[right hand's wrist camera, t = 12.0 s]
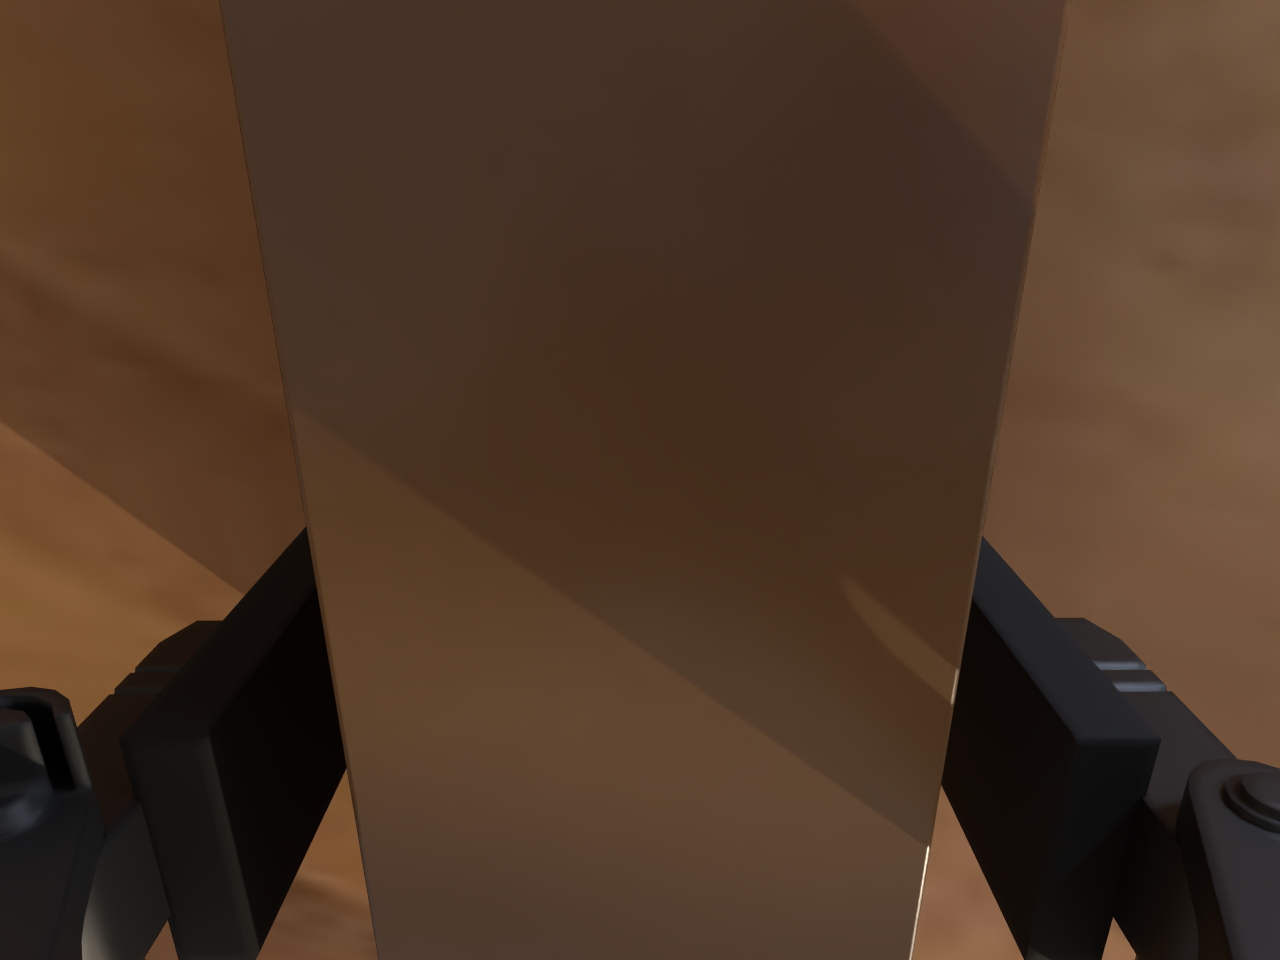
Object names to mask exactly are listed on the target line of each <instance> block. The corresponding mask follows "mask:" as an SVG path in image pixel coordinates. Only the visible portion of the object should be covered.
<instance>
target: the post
mask: <svg viewBox="0 0 1280 960" xmlns="http://www.w3.org/2000/svg"><path fill="white" fill-rule="evenodd" d="M219 3H220V9H221V15H222V21H223V27H224V33H225V39H226V46H227V51H228V58H229V64H230V70H231V76H232V82H233V88H234V94H235V100H236V106H237V112H238V118H239V124H240V130H241V136H242V142H243V148H244V154H245V160H246V166H247V172H248V178H249V184H250V190H251V196H252V202H253V208H254V214H255V220H256V226H257V232H258V238H259V244H260V250H261V256H262V262H263V268H264V274H265V280H266V286H267V292H268V298H269V304H270V310H271V316H272V322H273V328H274V334H275V340H276V346H277V352H278V358H279V364H280V370H281V376H282V382H283V388H284V394H285V400H286V406H287V412H288V418H289V424H290V430H291V436H292V442H293V448H294V454H295V460H296V466H297V472H298V478H299V484H300V490H301V496H302V502H303V508H304V514H305V520H306V526H307V532H308V538H309V544H310V550H311V556H312V562H313V568H314V574H315V580H316V586H317V592H318V598H319V604H320V610H321V616H322V622H323V628H324V634H325V640H326V646H327V652H328V658H329V664H330V670H331V676H332V682H333V688H334V694H335V700H336V706H337V712H338V718H339V724H340V730H341V736H342V742H343V748H344V754H345V760H346V766H347V772H348V778H349V784H350V790H351V796H352V802H353V808H354V814H355V820H356V826H357V832H358V838H359V844H360V850H361V856H362V862H363V868H364V874H365V880H366V886H367V892H368V898H369V904H370V910H371V916H372V922H373V928H374V935H375V941H376V947H377V953H378V959H379V960H912V956H913V950H914V944H915V938H916V932H917V926H918V920H919V914H920V908H921V902H922V896H923V890H924V884H925V878H926V872H927V866H928V860H929V854H930V848H931V842H932V836H933V829H934V823H935V817H936V811H937V805H938V799H939V793H940V787H941V781H942V775H943V769H944V763H945V757H946V751H947V745H948V739H949V733H950V727H951V721H952V715H953V709H954V703H955V697H956V691H957V685H958V679H959V673H960V667H961V661H962V655H963V649H964V642H965V636H966V630H967V624H968V618H969V612H970V606H971V600H972V594H973V588H974V582H975V576H976V570H977V564H978V558H979V552H980V546H981V540H982V534H983V528H984V522H985V516H986V510H987V504H988V498H989V492H990V486H991V480H992V474H993V468H994V461H995V455H996V449H997V443H998V437H999V431H1000V425H1001V419H1002V413H1003V407H1004V401H1005V395H1006V389H1007V383H1008V377H1009V371H1010V365H1011V359H1012V353H1013V347H1014V341H1015V335H1016V329H1017V323H1018V317H1019V311H1020V305H1021V299H1022V293H1023V287H1024V281H1025V274H1026V268H1027V262H1028V256H1029V250H1030V244H1031V238H1032V232H1033V226H1034V220H1035V214H1036V208H1037V202H1038V196H1039V190H1040V184H1041V178H1042V172H1043V166H1044V160H1045V154H1046V148H1047V142H1048V136H1049V130H1050V124H1051V118H1052V112H1053V106H1054V100H1055V94H1056V87H1057V81H1058V75H1059V69H1060V63H1061V57H1062V51H1063V45H1064V39H1065V33H1066V27H1067V21H1068V15H1069V9H1070V3H1071V0H219Z"/></svg>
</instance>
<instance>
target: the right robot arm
mask: <svg viewBox="0 0 1280 960" xmlns="http://www.w3.org/2000/svg"><path fill="white" fill-rule="evenodd" d="M346 768H347V766H346V760H345V754H344V748H343V742H342V736H341V730H340V724H339V718H338V712H337V706H336V700H335V694H334V688H333V682H332V676H331V670H330V664H329V658H328V652H327V646H326V640H325V634H324V628H323V622H322V616H321V610H320V604H319V598H318V592H317V586H316V580H315V574H314V568H313V562H312V556H311V550H310V544H309V538H308V532H307V526H306V527H305V528H304V529H303V530H302V532H301V533H300V534H299V535H298V536H297V537H296V538H295V539H294V541H293V542H292V543H291V544H290V545H289V546H288V547H287V549H286V550H285V551H284V552H283V553H282V554H281V555H280V556H279V558H278V559H277V560H276V561H275V562H274V563H273V564H272V566H271V567H270V568H269V569H268V570H267V571H266V572H265V573H264V575H263V576H262V577H261V578H260V579H259V580H258V581H257V583H256V584H255V585H254V586H253V587H252V588H251V589H250V590H249V592H248V593H247V594H246V595H245V596H244V597H243V598H242V600H241V601H240V602H239V603H238V604H237V605H236V606H235V607H234V609H233V610H232V611H231V612H230V613H229V614H228V615H227V617H226V618H225V619H224V620H223V621H196V622H194V623H192V624H191V625H189V626H187V627H185V628H184V629H182V630H180V631H179V632H177V633H175V634H173V635H172V636H170V637H168V638H167V639H165V640H163V641H162V642H160V643H159V644H158V645H157V646H156V647H155V648H154V649H153V650H152V651H151V652H150V653H149V654H148V655H147V656H146V657H145V658H144V659H143V660H142V661H141V662H140V663H139V665H138V666H137V667H136V668H135V673H130V674H129V675H128V676H127V677H126V678H125V679H124V680H123V681H122V682H121V683H120V684H119V685H118V686H117V687H116V688H115V693H114V695H108V696H107V697H106V699H105V700H104V701H103V702H102V703H101V704H100V705H99V706H98V707H97V708H96V709H95V710H94V711H93V712H92V713H91V714H90V715H89V716H88V717H87V718H86V719H85V720H84V721H83V722H82V723H81V724H80V725H79V726H78V727H77V726H76V722H75V719H74V715H73V712H72V709H71V705H70V702H69V699H68V698H66V697H65V696H63V695H62V694H60V693H59V692H57V691H56V690H51V689H44V688H36V687H25V688H16V689H6V690H0V960H145V956H146V954H147V953H148V951H149V950H150V948H151V946H152V945H153V943H154V941H155V940H156V938H157V936H158V935H159V933H160V932H161V930H162V928H163V927H164V925H165V923H166V922H167V920H168V922H169V926H170V930H171V933H172V937H173V941H174V944H175V948H176V952H177V955H178V959H179V960H256V958H257V956H258V954H259V952H260V950H261V948H262V946H263V943H264V941H265V939H266V937H267V935H268V933H269V931H270V929H271V927H272V924H273V922H274V920H275V918H276V916H277V914H278V912H279V910H280V908H281V905H282V903H283V901H284V899H285V897H286V895H287V893H288V891H289V889H290V886H291V884H292V882H293V880H294V878H295V876H296V874H297V872H298V869H299V867H300V865H301V863H302V861H303V859H304V857H305V855H306V853H307V850H308V848H309V846H310V844H311V842H312V840H313V838H314V836H315V834H316V831H317V829H318V827H319V825H320V823H321V821H322V819H323V817H324V815H325V812H326V810H327V808H328V806H329V804H330V802H331V800H332V798H333V796H334V793H335V791H336V789H337V787H338V785H339V783H340V781H341V779H342V777H343V774H344V772H345V770H346ZM941 785H942V787H943V789H944V791H945V793H946V796H947V798H948V800H949V802H950V804H951V806H952V808H953V810H954V812H955V815H956V817H957V819H958V821H959V823H960V825H961V827H962V829H963V831H964V834H965V836H966V838H967V840H968V842H969V844H970V846H971V848H972V850H973V853H974V855H975V857H976V859H977V861H978V863H979V865H980V867H981V869H982V872H983V874H984V876H985V878H986V880H987V882H988V884H989V886H990V888H991V891H992V893H993V895H994V897H995V899H996V901H997V903H998V905H999V907H1000V910H1001V912H1002V914H1003V916H1004V918H1005V920H1006V922H1007V924H1008V927H1009V929H1010V931H1011V933H1012V935H1013V937H1014V939H1015V941H1016V943H1017V946H1018V948H1019V950H1020V952H1021V954H1022V956H1023V958H1024V960H1101V959H1102V955H1103V952H1104V948H1105V944H1106V941H1107V937H1108V933H1109V930H1110V926H1111V922H1112V919H1113V917H1114V919H1115V920H1116V922H1117V924H1118V925H1119V927H1120V929H1121V930H1122V932H1123V933H1124V935H1125V937H1126V938H1127V940H1128V942H1129V943H1130V945H1131V946H1132V948H1133V950H1134V951H1135V953H1136V958H1135V960H1280V769H1278V768H1275V767H1272V766H1269V765H1266V764H1262V763H1259V762H1255V761H1247V760H1239V759H1237V758H1236V757H1235V756H1234V755H1233V754H1232V753H1231V752H1230V751H1229V750H1228V749H1227V748H1226V747H1225V746H1224V745H1223V744H1222V743H1221V742H1220V740H1219V739H1218V738H1217V737H1216V736H1215V735H1214V734H1213V733H1212V732H1211V731H1210V730H1209V729H1208V728H1207V727H1206V726H1205V725H1204V724H1203V723H1202V722H1201V721H1200V720H1199V719H1198V718H1197V717H1196V716H1195V715H1194V714H1193V713H1192V712H1191V711H1190V710H1189V709H1188V708H1187V707H1186V706H1185V705H1184V704H1183V703H1182V702H1181V701H1180V700H1179V699H1178V698H1177V697H1176V696H1175V694H1174V693H1173V692H1172V691H1167V690H1166V685H1165V684H1164V683H1163V682H1162V681H1161V680H1160V679H1159V678H1158V677H1157V676H1156V675H1155V674H1154V673H1153V672H1152V671H1151V670H1146V668H1145V664H1144V663H1143V662H1142V661H1141V660H1140V659H1139V658H1138V657H1137V656H1136V655H1135V654H1134V653H1133V652H1132V651H1131V649H1130V648H1129V647H1128V646H1127V645H1126V644H1125V643H1124V642H1123V641H1122V640H1121V639H1119V638H1117V637H1116V636H1114V635H1112V634H1110V633H1109V632H1107V631H1105V630H1103V629H1102V628H1100V627H1098V626H1097V625H1095V624H1093V623H1091V622H1090V621H1088V620H1086V619H1085V618H1054V617H1053V615H1052V614H1051V613H1050V612H1049V611H1048V610H1047V609H1046V607H1045V606H1044V605H1043V604H1042V603H1041V602H1040V601H1039V600H1038V598H1037V597H1036V596H1035V595H1034V594H1033V593H1032V592H1031V590H1030V589H1029V588H1028V587H1027V586H1026V585H1025V584H1024V583H1023V581H1022V580H1021V579H1020V578H1019V577H1018V576H1017V575H1016V573H1015V572H1014V571H1013V570H1012V569H1011V568H1010V567H1009V566H1008V564H1007V563H1006V562H1005V561H1004V560H1003V559H1002V558H1001V556H1000V555H999V554H998V553H997V552H996V551H995V550H994V549H993V547H992V546H991V545H990V544H989V543H988V542H987V541H986V539H985V538H984V537H983V536H982V540H981V546H980V552H979V558H978V564H977V570H976V576H975V582H974V588H973V594H972V600H971V606H970V612H969V618H968V624H967V630H966V636H965V642H964V649H963V655H962V661H961V667H960V673H959V679H958V685H957V691H956V697H955V703H954V709H953V715H952V721H951V727H950V733H949V739H948V745H947V751H946V757H945V763H944V769H943V775H942V781H941Z"/></svg>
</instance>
